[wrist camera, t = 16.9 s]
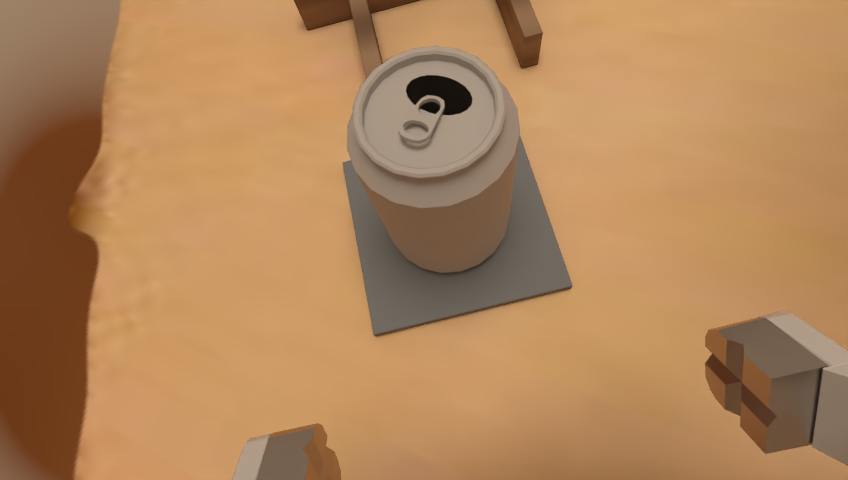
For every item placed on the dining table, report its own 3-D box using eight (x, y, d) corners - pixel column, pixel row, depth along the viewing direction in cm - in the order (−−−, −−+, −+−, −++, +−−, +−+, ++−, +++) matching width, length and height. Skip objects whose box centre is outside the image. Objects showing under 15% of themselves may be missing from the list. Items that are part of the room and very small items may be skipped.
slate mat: (345, 166, 33) (342, 162, 32) (513, 123, 32) (513, 118, 32) (375, 336, 28) (373, 334, 28) (570, 288, 28) (572, 285, 27)
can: (526, 189, 30) (551, 56, 19) (480, 296, 28) (478, 218, 17) (420, 152, 32) (385, 11, 21) (370, 249, 30) (301, 152, 19)
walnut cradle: (305, 19, 38) (291, -13, 35) (548, -47, 37) (554, -85, 34) (323, 120, 34) (308, 94, 32) (592, 49, 34) (602, 16, 31)
